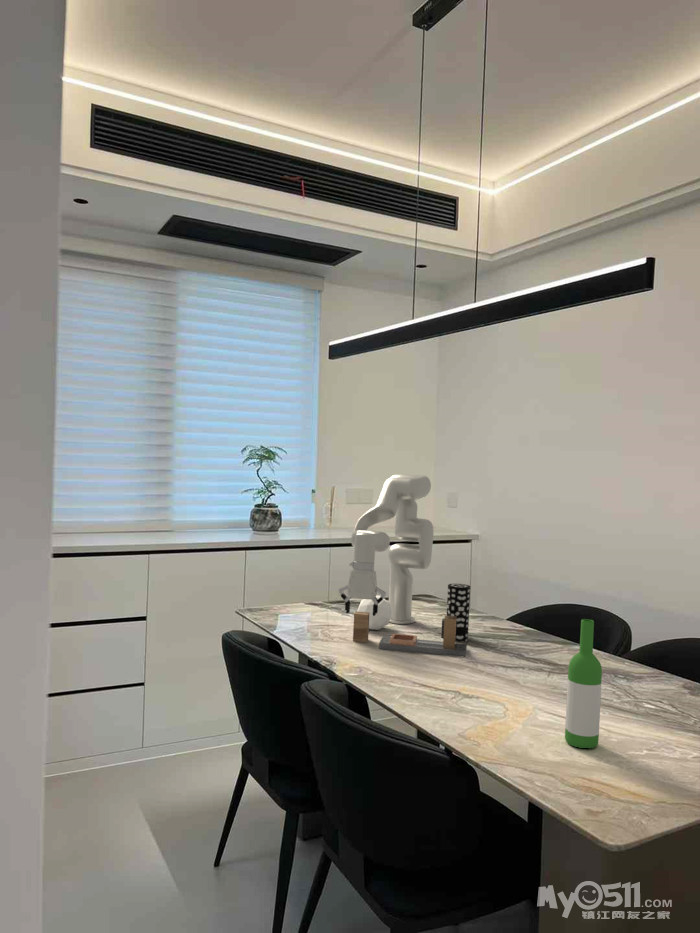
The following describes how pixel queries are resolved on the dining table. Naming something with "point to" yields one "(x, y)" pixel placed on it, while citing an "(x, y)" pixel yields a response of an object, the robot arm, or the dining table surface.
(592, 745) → the wine bottle
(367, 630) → the gripped brown wooden block
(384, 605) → the geodesic sphere
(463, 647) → the rail
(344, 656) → the dining table surface
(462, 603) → the white-spotted black cylinder
